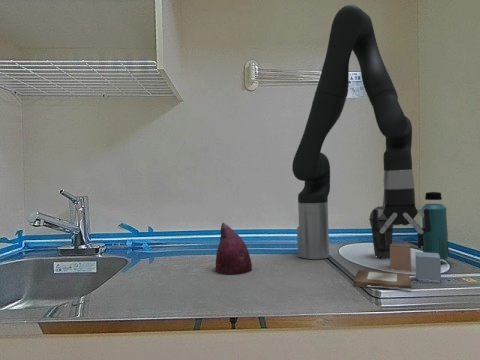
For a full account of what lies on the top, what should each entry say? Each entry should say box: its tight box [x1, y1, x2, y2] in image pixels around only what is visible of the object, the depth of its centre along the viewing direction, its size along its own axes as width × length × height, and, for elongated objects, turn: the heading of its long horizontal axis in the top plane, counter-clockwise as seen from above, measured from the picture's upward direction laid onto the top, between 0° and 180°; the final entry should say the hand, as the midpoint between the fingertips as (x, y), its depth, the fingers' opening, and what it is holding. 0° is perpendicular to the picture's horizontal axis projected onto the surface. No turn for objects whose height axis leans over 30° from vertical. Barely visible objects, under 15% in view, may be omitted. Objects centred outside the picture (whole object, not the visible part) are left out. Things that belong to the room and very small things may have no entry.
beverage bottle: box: [421, 191, 450, 261], centre depth 101 cm, size 6×7×20 cm
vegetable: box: [215, 221, 253, 276], centre depth 100 cm, size 10×10×15 cm
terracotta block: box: [389, 243, 412, 272], centre depth 97 cm, size 5×5×6 cm
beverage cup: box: [368, 197, 395, 259], centre depth 110 cm, size 7×7×20 cm
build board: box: [352, 269, 412, 289], centre depth 85 cm, size 12×10×1 cm
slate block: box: [415, 251, 442, 282], centre depth 86 cm, size 5×5×6 cm
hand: (401, 247), depth 96 cm, fingers open, 8 cm apart
